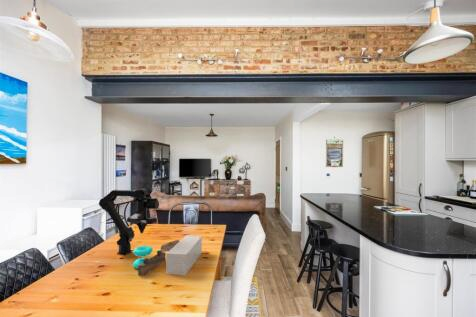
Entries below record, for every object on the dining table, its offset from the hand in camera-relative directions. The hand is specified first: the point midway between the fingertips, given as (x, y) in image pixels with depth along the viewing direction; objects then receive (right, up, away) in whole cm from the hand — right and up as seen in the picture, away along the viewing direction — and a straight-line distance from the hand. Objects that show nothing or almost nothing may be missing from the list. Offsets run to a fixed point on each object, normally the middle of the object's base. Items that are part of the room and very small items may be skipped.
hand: (141, 233), depth 156 cm
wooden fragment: (+14, -14, +16) cm, 26 cm away
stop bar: (+14, -13, -20) cm, 28 cm away
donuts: (+8, -13, -18) cm, 24 cm away
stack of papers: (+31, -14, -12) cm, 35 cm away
